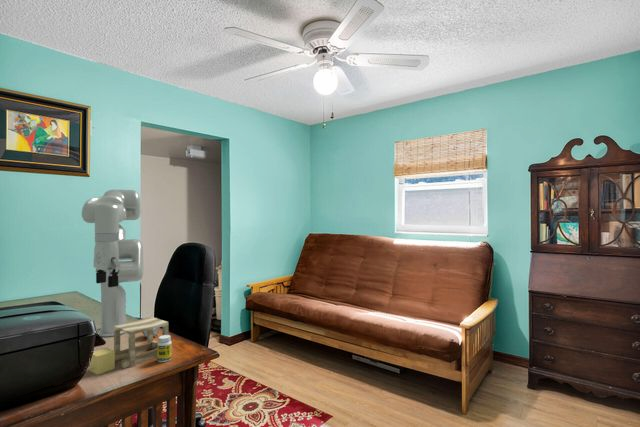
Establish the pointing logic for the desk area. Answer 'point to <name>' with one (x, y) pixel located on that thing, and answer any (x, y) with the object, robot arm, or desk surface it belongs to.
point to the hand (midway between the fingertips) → (107, 284)
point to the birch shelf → (133, 329)
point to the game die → (155, 332)
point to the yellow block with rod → (102, 361)
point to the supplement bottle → (164, 348)
